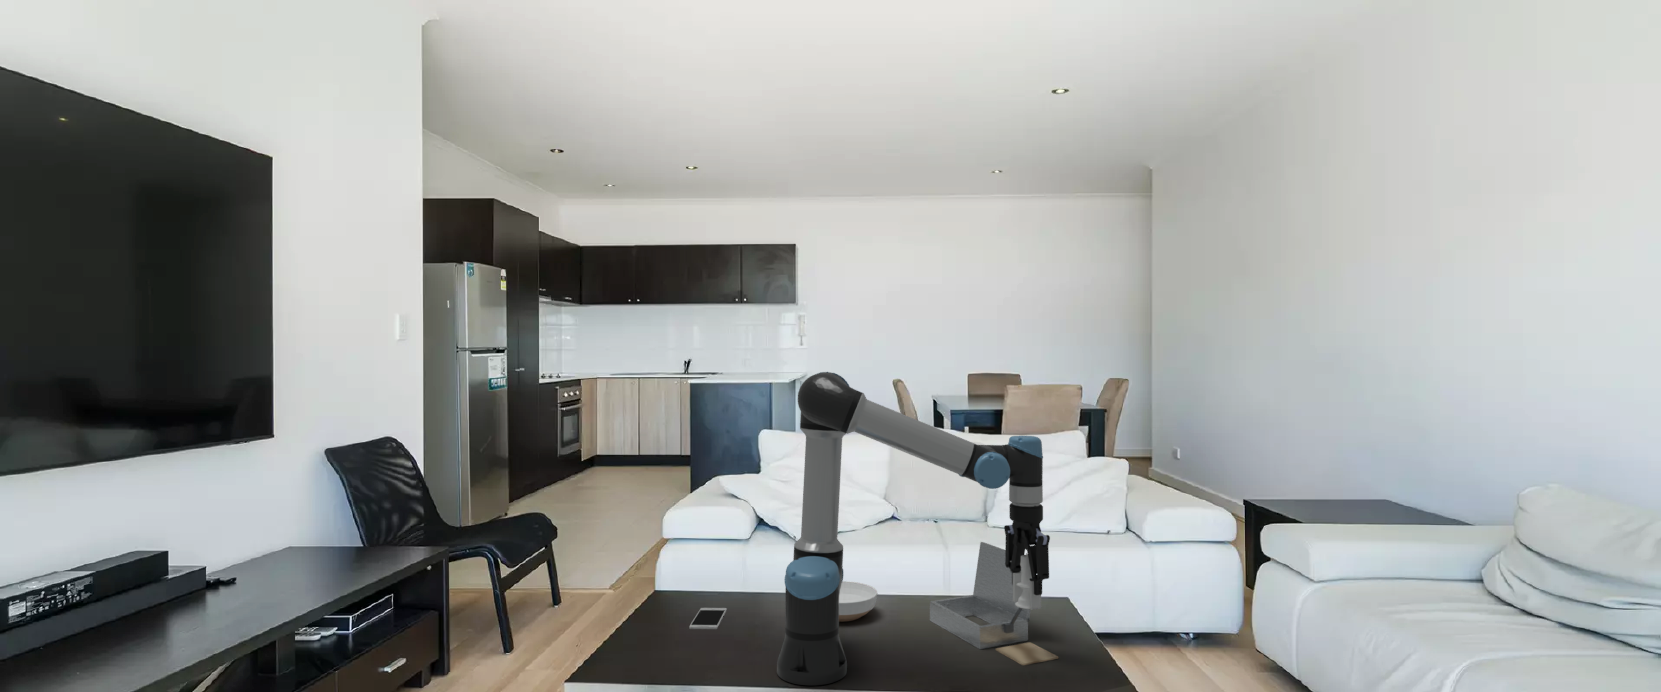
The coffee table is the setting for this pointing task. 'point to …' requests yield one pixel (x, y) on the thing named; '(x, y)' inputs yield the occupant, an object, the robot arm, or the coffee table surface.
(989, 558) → the case
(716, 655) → the coffee table surface
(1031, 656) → the mat
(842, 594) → the bowl
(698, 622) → the smartphone
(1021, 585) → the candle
